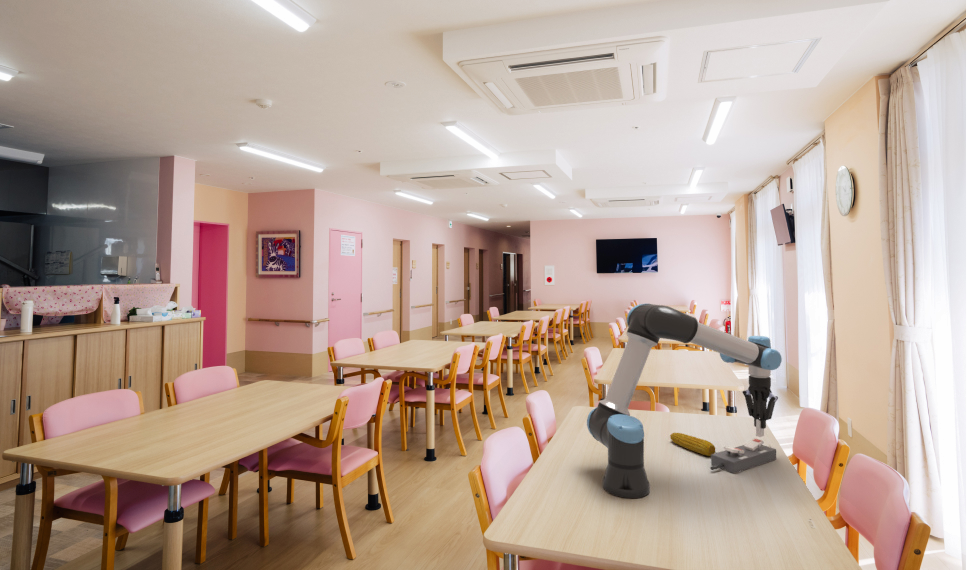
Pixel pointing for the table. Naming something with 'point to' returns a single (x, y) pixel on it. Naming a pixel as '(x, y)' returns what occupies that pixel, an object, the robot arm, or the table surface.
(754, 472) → the table surface
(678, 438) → the food
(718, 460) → the power strip
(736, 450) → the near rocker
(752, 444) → the far rocker
